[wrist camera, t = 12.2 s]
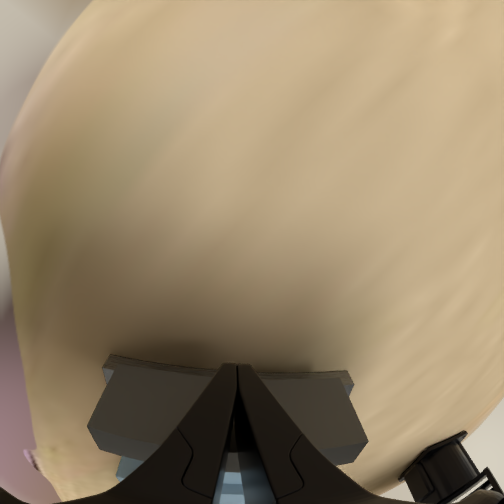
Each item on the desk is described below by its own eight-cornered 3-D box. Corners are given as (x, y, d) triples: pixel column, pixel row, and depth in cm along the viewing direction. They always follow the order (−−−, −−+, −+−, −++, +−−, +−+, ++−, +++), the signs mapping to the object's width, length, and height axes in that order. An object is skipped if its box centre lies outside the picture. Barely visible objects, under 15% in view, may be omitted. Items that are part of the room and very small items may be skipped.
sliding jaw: (360, 376, 10) (392, 435, 7) (310, 471, 12) (320, 514, 9) (97, 358, 9) (62, 417, 6) (134, 461, 12) (124, 504, 8)
